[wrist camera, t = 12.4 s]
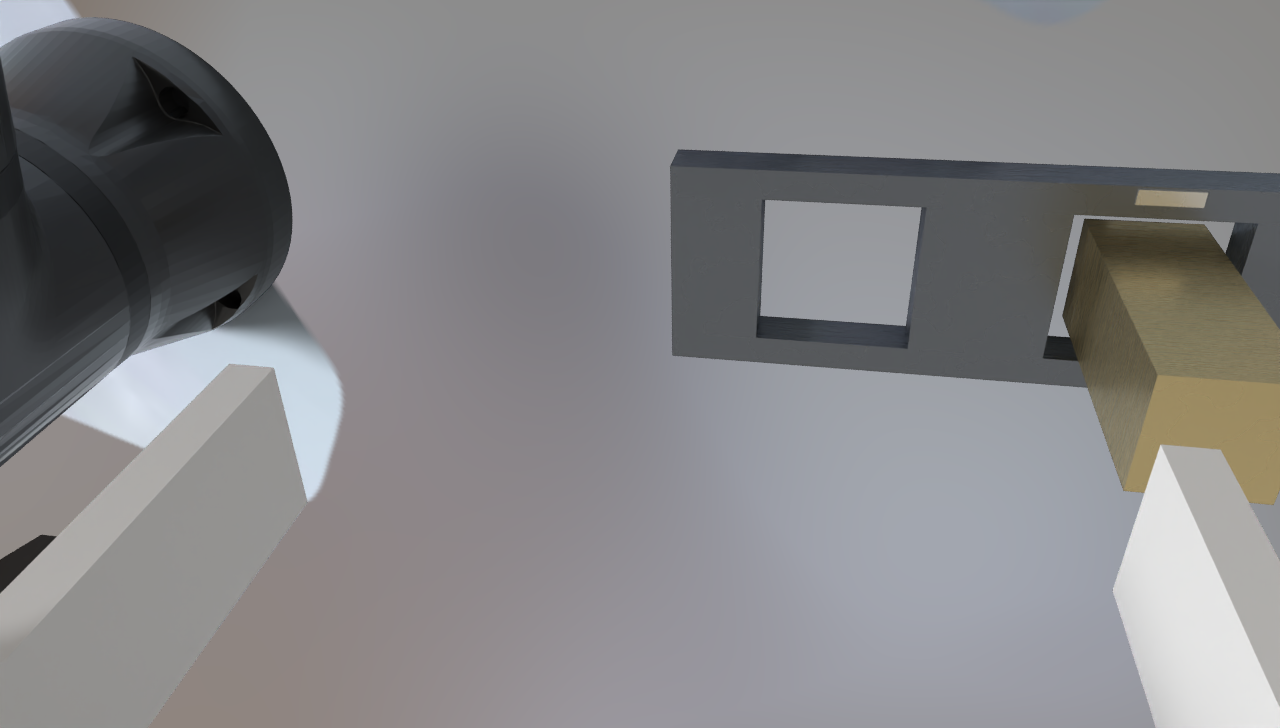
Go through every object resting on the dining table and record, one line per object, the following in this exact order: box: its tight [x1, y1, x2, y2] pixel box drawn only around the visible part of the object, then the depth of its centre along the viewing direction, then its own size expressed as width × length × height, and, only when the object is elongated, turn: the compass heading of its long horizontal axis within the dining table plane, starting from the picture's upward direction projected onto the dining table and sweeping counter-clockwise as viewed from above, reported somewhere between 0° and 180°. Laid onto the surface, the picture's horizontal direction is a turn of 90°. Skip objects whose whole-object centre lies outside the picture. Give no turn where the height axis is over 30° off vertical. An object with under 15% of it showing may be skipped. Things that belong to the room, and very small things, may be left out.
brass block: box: [1063, 219, 1280, 505], centre depth 36 cm, size 4×4×12 cm
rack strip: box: [670, 150, 1280, 387], centre depth 41 cm, size 26×9×2 cm, turn 91°
